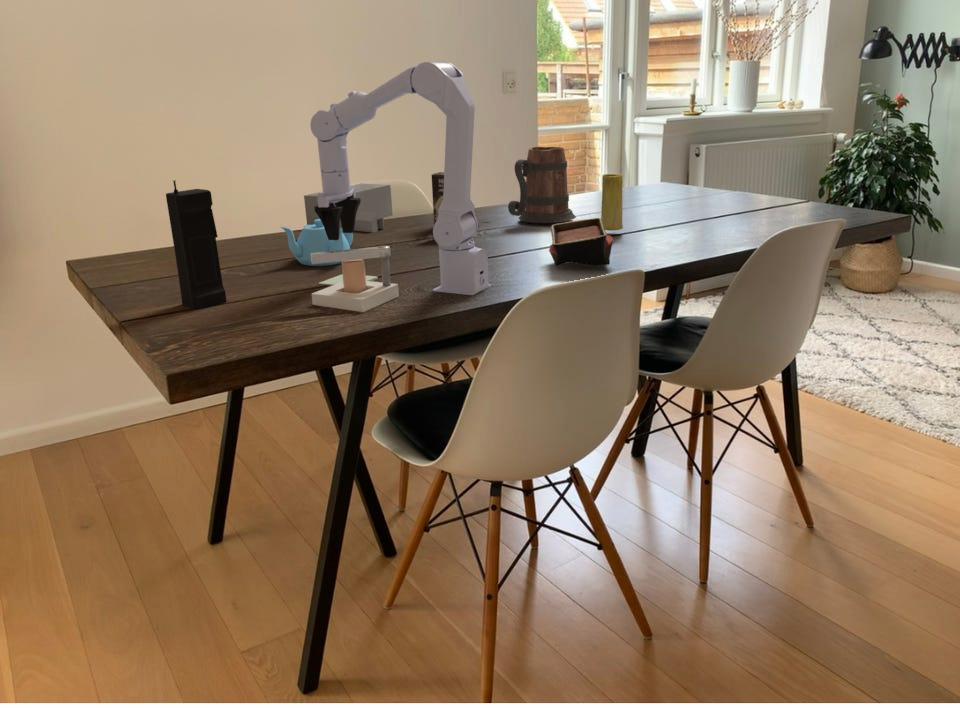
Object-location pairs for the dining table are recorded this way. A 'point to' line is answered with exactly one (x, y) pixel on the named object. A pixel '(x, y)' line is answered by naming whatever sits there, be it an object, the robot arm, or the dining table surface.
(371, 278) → the mat
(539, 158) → the tankard
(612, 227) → the vase
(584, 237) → the rectangular planter pot
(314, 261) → the grey long bar
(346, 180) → the robot arm
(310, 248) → the teapot
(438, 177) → the coffee box
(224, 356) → the dining table surface
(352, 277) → the plug
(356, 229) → the grey stepped box
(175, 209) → the portable radio
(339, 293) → the socket block
